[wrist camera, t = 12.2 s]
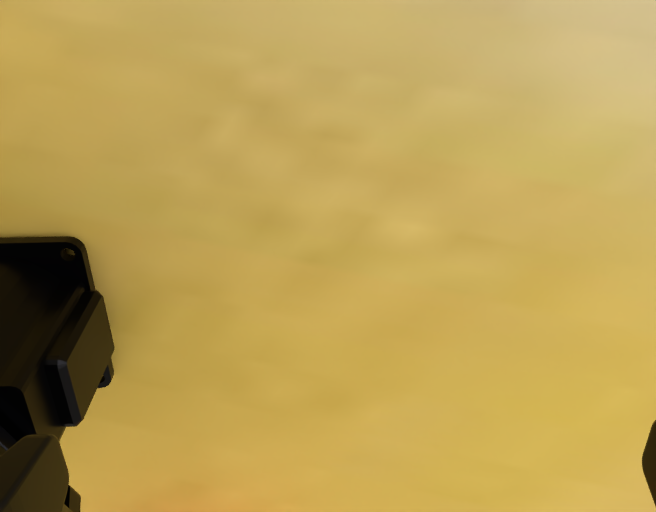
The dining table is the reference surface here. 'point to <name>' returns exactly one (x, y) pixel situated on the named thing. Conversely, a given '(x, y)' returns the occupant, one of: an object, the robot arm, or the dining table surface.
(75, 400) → the robot arm
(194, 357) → the dining table surface
